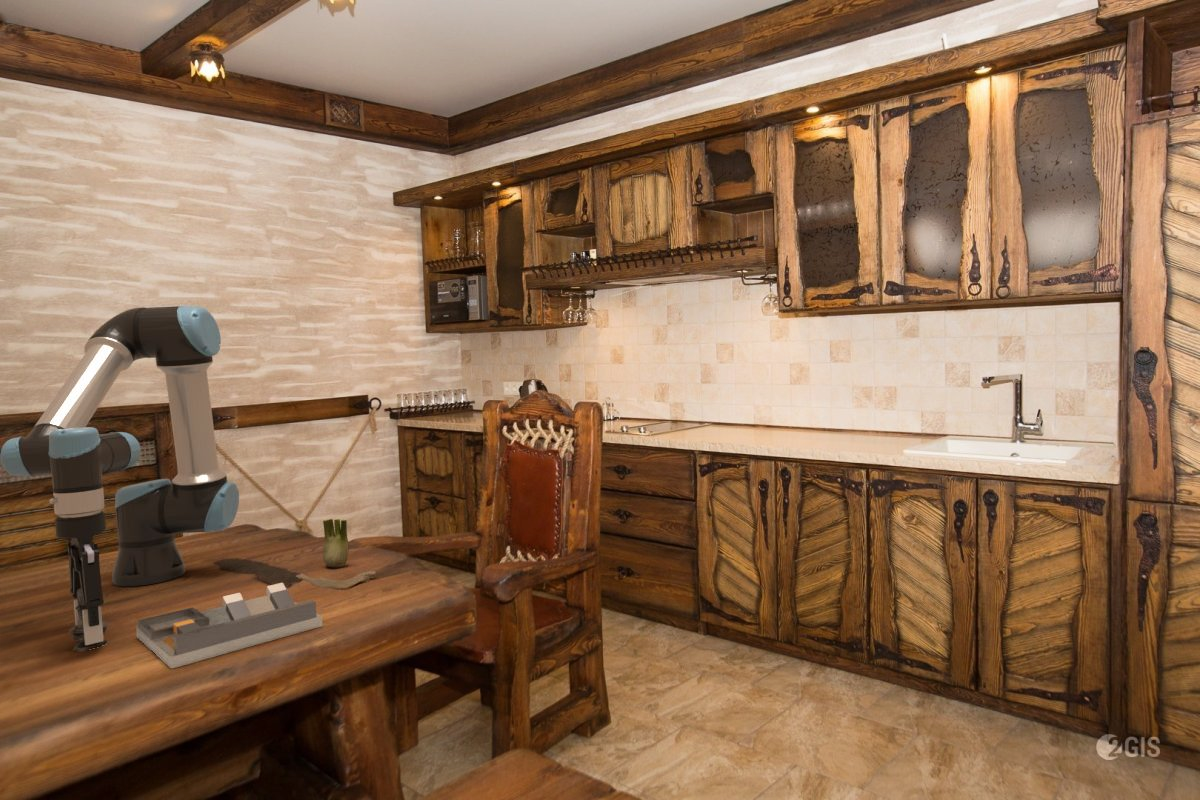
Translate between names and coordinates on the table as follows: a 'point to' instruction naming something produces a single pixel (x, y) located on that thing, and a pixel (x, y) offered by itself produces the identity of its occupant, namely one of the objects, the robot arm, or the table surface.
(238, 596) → the block
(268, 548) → the table surface
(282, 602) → the block
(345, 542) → the fennel bulb
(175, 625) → the block
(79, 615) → the stone stupa figurine
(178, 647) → the panel
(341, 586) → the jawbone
